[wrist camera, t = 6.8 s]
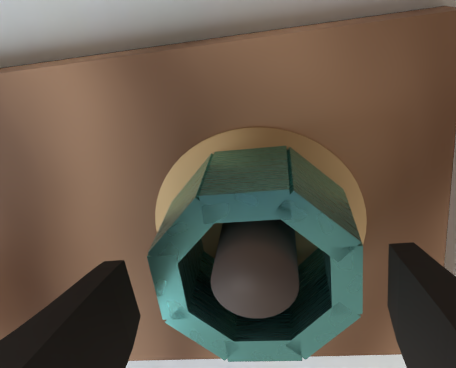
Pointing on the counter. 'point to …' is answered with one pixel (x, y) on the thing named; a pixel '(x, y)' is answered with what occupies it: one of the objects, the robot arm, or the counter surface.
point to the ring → (257, 211)
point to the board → (224, 141)
